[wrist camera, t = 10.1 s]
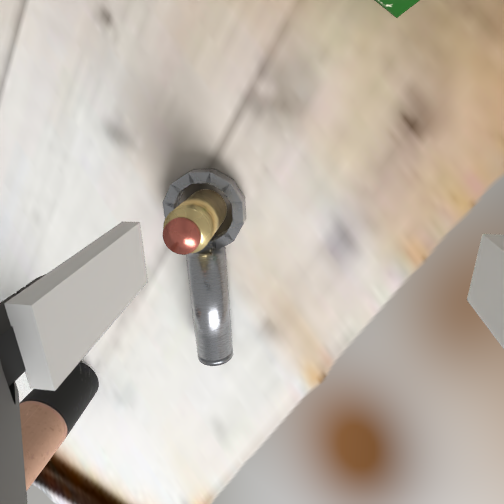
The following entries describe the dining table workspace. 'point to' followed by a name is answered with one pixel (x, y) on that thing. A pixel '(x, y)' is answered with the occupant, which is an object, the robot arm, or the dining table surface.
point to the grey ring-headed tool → (211, 269)
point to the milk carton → (396, 6)
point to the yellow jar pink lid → (194, 222)
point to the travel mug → (53, 417)
